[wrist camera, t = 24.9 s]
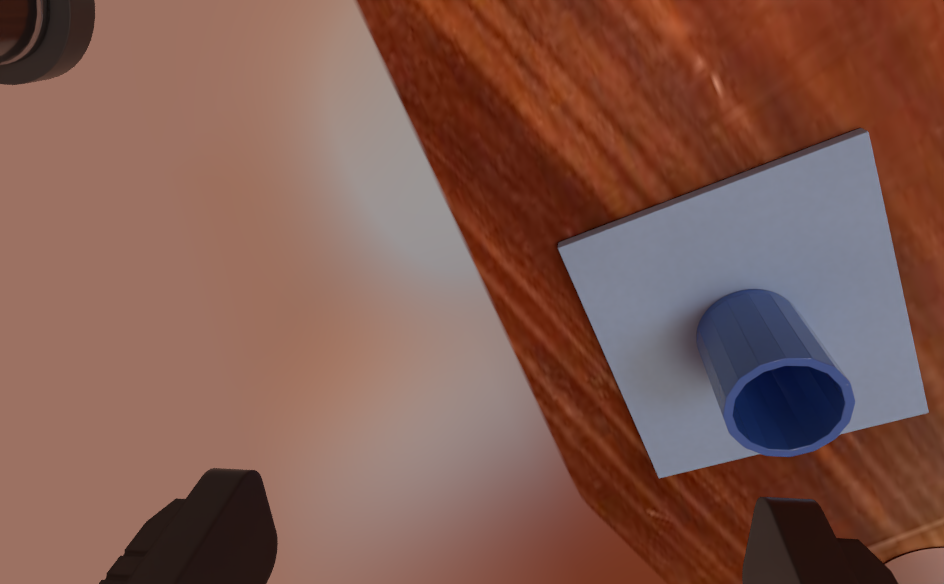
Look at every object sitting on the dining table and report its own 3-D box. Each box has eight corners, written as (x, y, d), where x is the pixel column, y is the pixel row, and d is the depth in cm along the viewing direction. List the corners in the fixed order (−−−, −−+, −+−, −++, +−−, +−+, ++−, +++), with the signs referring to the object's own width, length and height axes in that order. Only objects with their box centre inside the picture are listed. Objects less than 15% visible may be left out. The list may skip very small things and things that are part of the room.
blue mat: (657, 469, 47) (658, 478, 46) (557, 242, 40) (557, 248, 39) (921, 403, 41) (929, 413, 40) (860, 127, 34) (868, 131, 33)
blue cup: (711, 386, 42) (742, 468, 34) (682, 308, 39) (709, 379, 32) (811, 358, 40) (866, 439, 33) (787, 274, 37) (840, 342, 30)
